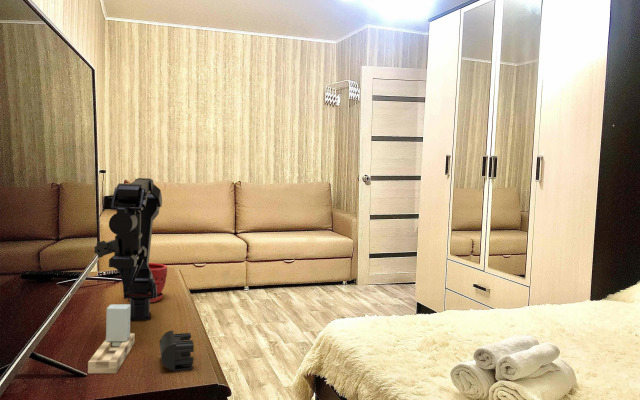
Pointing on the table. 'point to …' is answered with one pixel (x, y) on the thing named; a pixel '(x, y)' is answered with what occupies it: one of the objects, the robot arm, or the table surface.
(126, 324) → the block
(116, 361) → the beam
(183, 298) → the table surface
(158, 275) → the plant pot
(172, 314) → the table surface
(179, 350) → the end cap
